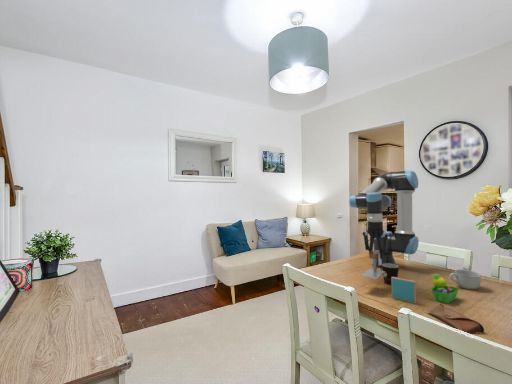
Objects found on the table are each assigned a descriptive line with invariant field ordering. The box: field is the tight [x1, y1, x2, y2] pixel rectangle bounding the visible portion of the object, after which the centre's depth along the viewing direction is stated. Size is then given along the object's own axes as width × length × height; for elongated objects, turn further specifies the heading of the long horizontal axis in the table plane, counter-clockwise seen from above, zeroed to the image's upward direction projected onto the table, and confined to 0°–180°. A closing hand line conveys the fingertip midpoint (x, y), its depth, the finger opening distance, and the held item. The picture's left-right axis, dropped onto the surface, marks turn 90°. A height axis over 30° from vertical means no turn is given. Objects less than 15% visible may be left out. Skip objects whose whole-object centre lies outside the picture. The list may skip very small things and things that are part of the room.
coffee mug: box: [379, 263, 400, 286], centre depth 147 cm, size 12×9×10 cm
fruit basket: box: [430, 273, 459, 304], centre depth 123 cm, size 11×9×11 cm
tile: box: [390, 277, 417, 304], centre depth 123 cm, size 2×10×10 cm, turn 47°
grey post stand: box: [360, 250, 385, 280], centre depth 137 cm, size 16×8×11 cm, turn 137°
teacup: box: [449, 268, 482, 291], centre depth 136 cm, size 14×11×8 cm
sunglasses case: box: [426, 303, 485, 335], centre depth 102 cm, size 18×7×7 cm, turn 10°
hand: (376, 263), depth 140 cm, fingers closed on grey post stand, 3 cm apart
